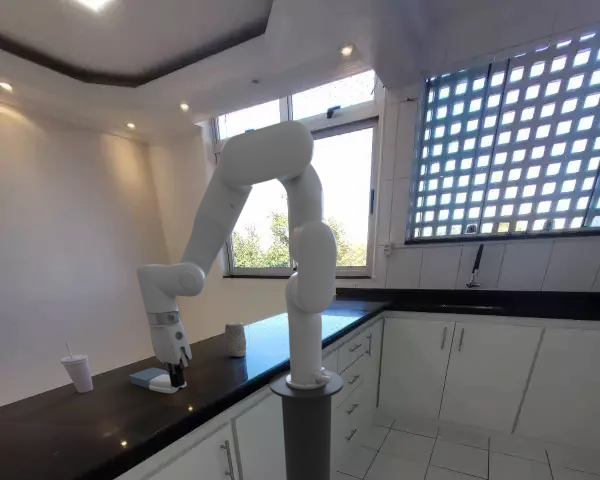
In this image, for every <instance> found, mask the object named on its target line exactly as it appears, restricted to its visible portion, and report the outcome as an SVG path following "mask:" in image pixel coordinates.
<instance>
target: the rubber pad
mask: <svg viewBox="0 0 600 480" xmlns="http://www.w3.org/2000/svg"><path fill="white" fill-rule="evenodd" d="M162 374H166V375H169V373H168V372H167V370H165V369H162V368H157V367H154V366H153V367H152V366H151V367H149V368H146V369H144V370H141V371H138V372H135V373H132V374H129V375H128V377H129V381H130V384H133V385H136V386H139V387H142V388H146V389H149V385H150V383H149V382H150V380H151V379H153V378H155V377H158V376H160V375H162Z"/></svg>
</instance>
